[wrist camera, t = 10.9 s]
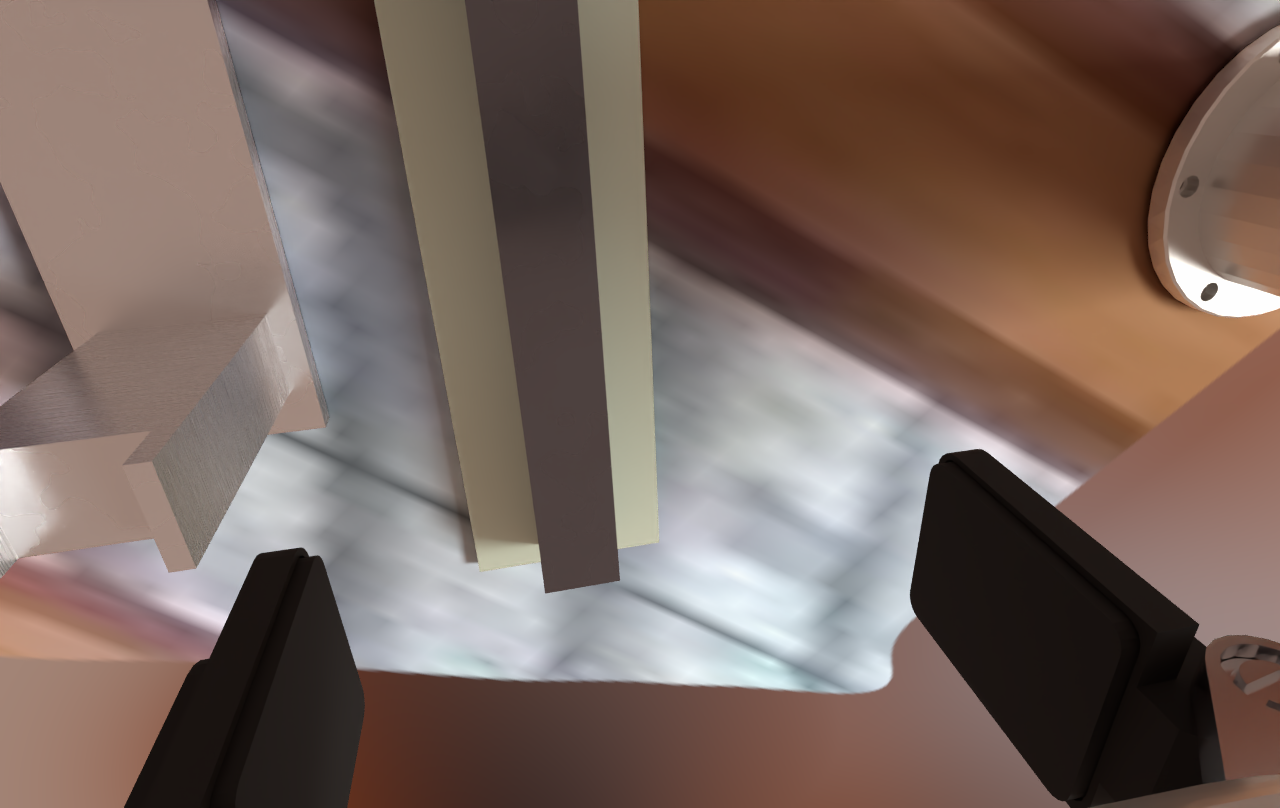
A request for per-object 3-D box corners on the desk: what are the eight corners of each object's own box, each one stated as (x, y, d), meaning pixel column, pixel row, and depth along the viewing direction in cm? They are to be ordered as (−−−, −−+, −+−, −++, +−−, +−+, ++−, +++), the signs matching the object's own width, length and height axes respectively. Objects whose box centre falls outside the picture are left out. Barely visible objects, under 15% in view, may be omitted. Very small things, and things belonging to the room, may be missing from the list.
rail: (552, -139, 21) (565, -168, 18) (606, 533, 31) (619, 580, 29) (446, -138, 20) (442, -168, 17) (538, 544, 31) (545, 593, 28)
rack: (109, -388, 17) (-321, -901, 8) (329, 417, 27) (254, 609, 18) (-233, -403, 16) (-1206, -1025, 7) (128, 442, 26) (-64, 661, 17)
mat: (627, -178, 21) (631, -183, 20) (656, 534, 33) (659, 542, 32) (343, -178, 20) (339, -185, 19) (479, 563, 32) (480, 572, 31)
